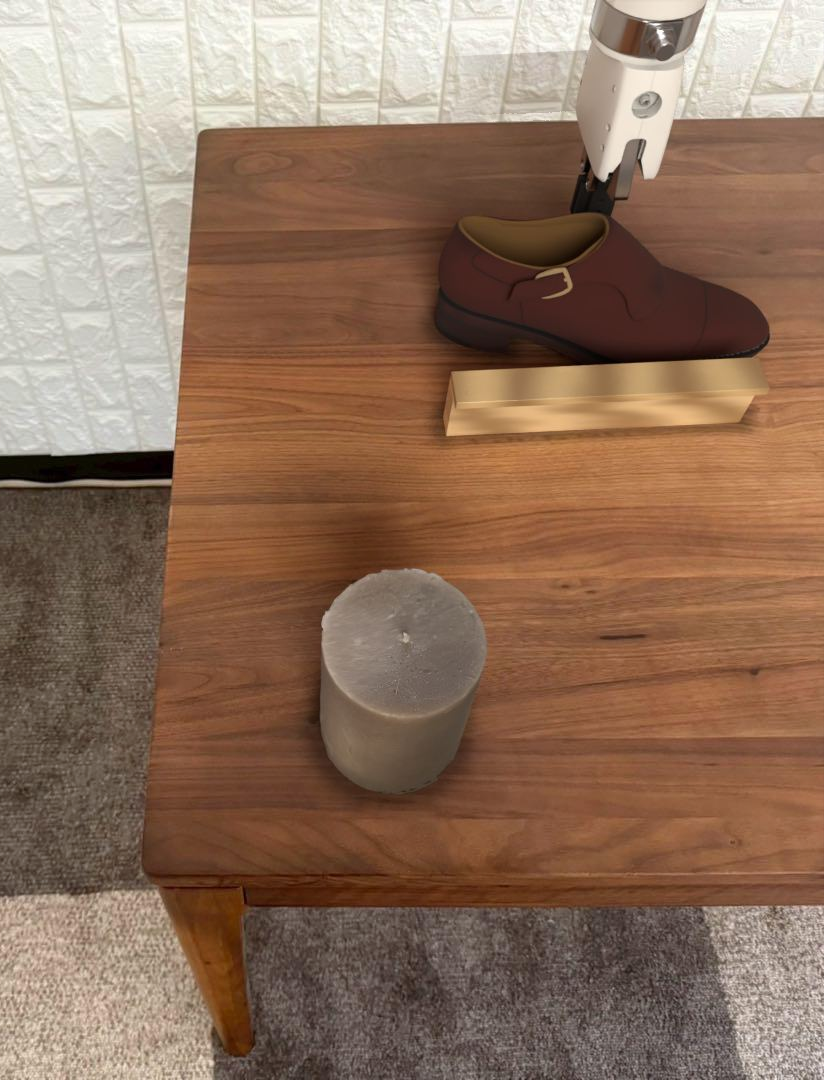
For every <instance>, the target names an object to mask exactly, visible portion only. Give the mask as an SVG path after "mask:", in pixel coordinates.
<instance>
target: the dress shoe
mask: <svg viewBox="0 0 824 1080" xmlns="http://www.w3.org/2000/svg"><path fill="white" fill-rule="evenodd" d="M437 277H438V283H439V287H438V291H437V301H436V308H435V317H434V323H435V327H436V329H437V331H438V332H439V333H440V334H441V335H443V336H444V337H445V338H447V339H448V340H450V341H452V342H454V343H455V344H458V345H461V346H463V347H464V348H469V349H472V350H476V351H479V352H483V353H487V354H501V355H509V350H510V349H509V348H510V343H511V338H517V339H521V340H525V341H528V342H532V343H534V344H535V343H536V344H538V345H541V346H544V347H546V348H549V349H551V350H554V351H556V352H558V353H560V354H562V355H565V356H567V357H569V358H571V359H573V360H575V361H577V362H579V363H581V364H582V365H601V364H623V363H645V362H666V361H688V360H710V359H731V358H753V357H755V356H756V355H757V354H759V353H760V352H761V351H762V350H763V349H765V347H767V345H768V344H769V343H770V339H771V334H770V333H771V332H770V330H771V329H770V323H769V322H768V320H767V318H766V316H765V315H764V313H763V312H762V310H761V309H760V308H759V307H758V306H757V304H755V303H754V302H753V300H751V299H750V298H748V297H747V296H745V295H743V294H741V293H739V292H737V291H734V290H733V289H730V288H728V287H725V286H722V285H719V284H716V283H714V282H709V281H707V280H703V279H700V278H698V277H695V276H692V275H690V274H688V273H685V272H682V271H681V270H677V269H674V268H671V267H668V266H666V265H663V264H662V263H661V262H660V261H659V260H658V259H657V258H656V257H655V256H654V255H653V254H652V253H651V252H650V251H649V250H648V249H647V248H646V247H645V246H644V245H643V244H642V243H641V242H640V241H639V240H638V239H637V238H636V237H635V236H634V235H633V234H632V233H631V232H630V231H629V230H628V229H627V228H625V227H624V226H623V224H620V223H619V221H617V220H616V219H614V218H613V217H612V216H611V217H610V216H608V215H606V214H603V213H597V212H584V213H575V214H571V213H569V214H564V215H558V216H554V217H546V218H538V219H513V218H503V217H498V216H497V217H496V216H490V215H477V214H476V215H475V214H472V215H470V214H469V215H464V216H462V217H460V218H459V219H458V220H457V221H456V223H455V225H454V226H453V228H452V230H451V232H450V234H449V235H448V237H447V238H446V241H445V243H444V245H443V247H442V250H441V253H440V256H439V261H438V268H437Z"/></svg>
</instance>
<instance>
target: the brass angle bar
mask: <svg viewBox="0 0 824 1080" xmlns="http://www.w3.org/2000/svg"><path fill="white" fill-rule="evenodd" d="M770 390H771V387H770V384H769V381H768V379H767V375H766V373H765V370H764V368H763V365H762V363H761V359H760V357H758V356H757V357H755V356H754V357H752V358H731V359H710V360H688V361H666V362H645V363H623V364H601V365H585V364H582V365H580V364H579V365H562V366H559V365H558V366H541V367H539V366H538V367H522V368H521V367H519V368H515V367H514V368H497V369H495V368H494V369H493V368H492V369H474V370H454V371H453V370H452V371H451V372H450V377H449V383H448V388H447V392H446V393H447V394H446V399H445V404H444V408H443V415H442V419H443V426H444V433H445V437H454V436H476V435H478V436H479V435H496V434H518V433H519V434H520V433H538V432H541V433H542V432H563V431H565V432H566V431H584V430H603V429H604V430H605V429H606V430H607V429H627V428H628V429H629V428H648V427H671V426H687V425H688V426H692V425H693V426H695V425H712V424H713V425H714V424H715V425H716V424H734V423H735V424H736V423H740V422H741V420H742V418H743V417H744V416H745V413H746V412H747V410H748V408H749V406H750V405H751V403H752V401H753V400H754V398H755V397H756V396H767V395H768V393H769V392H770Z"/></svg>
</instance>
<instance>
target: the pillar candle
mask: <svg viewBox="0 0 824 1080" xmlns="http://www.w3.org/2000/svg"><path fill="white" fill-rule="evenodd" d="M321 628H322V631H321V646H320V648H321V649H320V652H321V653H320V692H319V703H320V704H319V707H320V710H319V722H320V734H321V739H322V742H323V745H324V748H325V752H326V756H327V758H329V761H331V762H332V764H333V765H334V767H335V768H336V769H337V770H338V771H339V772H340V773H341V774H342V775H343V776H344V777H346V778H347V779H348V780H349V781H350V782H352V783H353V784H356V785H357V786H359V787H361V788H363V789H365V790H368V791H371V792H373V793H379V794H385V795H390V794H392V795H395V794H396V795H401V794H408V793H412V792H415V791H418V790H420V789H423V788H425V787H428V786H430V785H431V784H433V783H434V782H436V781H438V779H440V777H441V776H442V775H441V773H442V772H443V771H444V770H445V769H446V767H447V766H448V765H450V764H451V763H452V762H453V761H454V759H455V758H456V754H457V752H458V749H459V746H460V743H461V741H462V737H463V734H464V732H465V729H466V725H467V723H468V719H469V716H470V713H471V710H472V706H473V704H474V703H473V702H474V700H475V697H476V694H477V691H478V688H479V685H480V683H481V679H482V676H483V673H484V669H485V665H486V663H487V662H486V661H487V657H488V639H487V634H486V630H485V626H484V623H483V620H482V618H481V616H480V614H479V612H478V611H477V610H476V608H475V607H474V604H473V603H472V602H471V601H470V600H469V598H467V596H466V595H465V594H464V593H463V592H462V591H461V590H460V589H458V588H457V587H456V586H454V585H452V583H450V582H448V581H446V580H445V579H443V578H442V577H441V576H440V575H439V574H437V573H436V572H427V571H426V570H424V569H419V568H410V569H409V568H407V567H405V568H403V569H387V568H386V569H381V571H380V572H376V573H375V572H372V573H368V574H366V575H365V576H363V577H361V578H360V579H358V580H357V581H354V582H353V583H350V584H349V585H348V586H347V587H346V588H345V589H343V591H341V593H340V594H339V595H338V596H336V598H335V599H334V600H333V601H332V604H331V605H330V607H329V609H328V610H325V611H324V614H323V616H322V619H321Z"/></svg>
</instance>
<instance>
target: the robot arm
mask: <svg viewBox="0 0 824 1080" xmlns="http://www.w3.org/2000/svg"><path fill="white" fill-rule="evenodd" d="M707 2H708V0H594V5H593V9H592V13H591V18H590V22H589V26H588V36H589V39H590V41H591V42H590V45H589V48H588V51H587V55H586V58H585V62H584V66H583V70H582V72H581V77H580V81H579V85H578V91H577V94H576V95H577V96H576V102H575V114H576V120H577V125H578V128H579V131H580V135H581V138H582V141H583V148H582V151H581V152H582V154H581V158H580V163H579V169H580V174H578V175H577V180H576V183H575V188H574V192H573V195H572V199H571V202H570V207H569V213H570V214H575V213H584V212H597V213H603V214H606V215H608V216H610V217H611V218H612V215H613V210H614V208H615V204H616V202H618V201H619V202H620V201H621V202H622V201H628V200H629V197H630V193H631V188H632V183H633V179H634V174H635V168H636V164H638V166H639V169H640V172H641V175H642V178H643V180H645V181H646V180H654V179H655V178H656V177H657V175H658V173H659V171H660V168H661V165H662V162H663V158H664V155H665V151H666V149H667V145H668V141H669V137H670V134H671V131H672V127H673V123H674V119H675V116H676V112H677V107H678V104H679V103H678V102H679V98H680V94H681V89H682V83H683V78H684V77H683V76H684V72H685V71H684V70H685V63H686V61H685V55H687V54H688V53H689V52H690V51H691V49H692V48H693V45H694V42H695V39H696V36H697V34H698V30H699V27H700V24H701V22H702V19H703V18H702V17H703V15H704V11H705V9H706V6H707Z"/></svg>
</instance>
